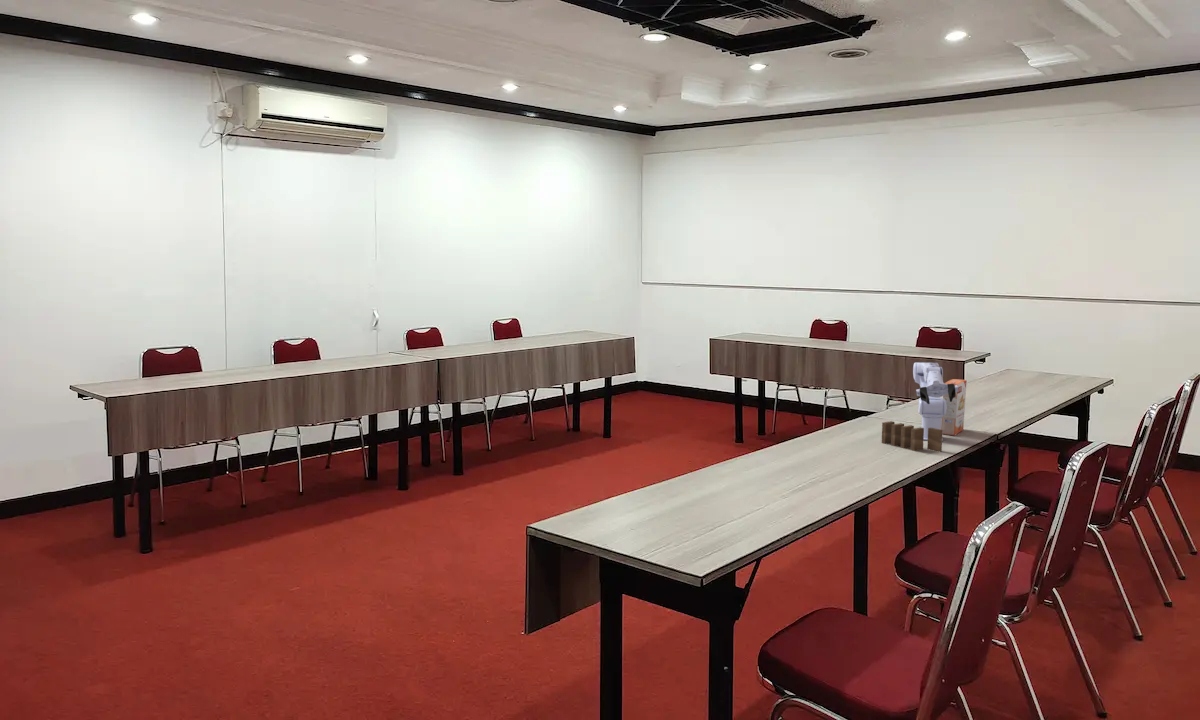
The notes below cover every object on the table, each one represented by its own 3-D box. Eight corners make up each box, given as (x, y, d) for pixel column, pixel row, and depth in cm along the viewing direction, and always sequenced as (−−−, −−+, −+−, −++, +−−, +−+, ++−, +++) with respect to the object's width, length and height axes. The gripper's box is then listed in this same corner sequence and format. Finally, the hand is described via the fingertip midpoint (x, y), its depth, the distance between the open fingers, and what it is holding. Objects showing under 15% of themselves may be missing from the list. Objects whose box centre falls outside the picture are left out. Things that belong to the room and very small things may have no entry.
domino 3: (900, 447, 319) (901, 426, 318) (909, 445, 321) (910, 425, 320) (904, 448, 318) (904, 427, 316) (913, 446, 320) (913, 425, 319)
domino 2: (890, 445, 323) (891, 424, 322) (899, 443, 325) (900, 423, 324) (894, 446, 321) (895, 425, 320) (903, 444, 324) (904, 423, 323)
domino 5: (930, 448, 317) (931, 427, 316) (941, 451, 313) (942, 429, 312) (927, 449, 316) (928, 427, 315) (938, 451, 312) (939, 430, 311)
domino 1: (881, 442, 327) (882, 422, 325) (890, 441, 329) (891, 421, 328) (884, 443, 325) (885, 423, 324) (893, 442, 328) (894, 421, 327)
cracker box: (956, 436, 337) (958, 384, 334) (940, 434, 340) (942, 382, 337) (964, 429, 348) (967, 379, 345) (949, 428, 351) (951, 378, 349)
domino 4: (910, 450, 315) (911, 428, 314) (919, 448, 318) (920, 427, 317) (914, 450, 314) (914, 429, 313) (923, 449, 316) (923, 428, 315)
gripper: (914, 377, 324) (917, 392, 312) (955, 372, 319) (959, 388, 307) (916, 393, 326) (919, 409, 314) (956, 389, 322) (961, 405, 310)
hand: (939, 400), depth 311 cm, fingers open, 7 cm apart
